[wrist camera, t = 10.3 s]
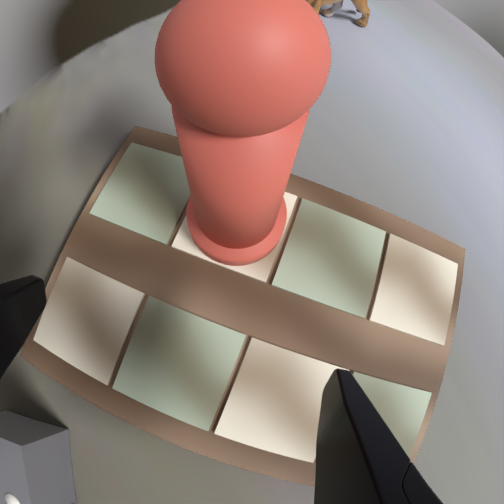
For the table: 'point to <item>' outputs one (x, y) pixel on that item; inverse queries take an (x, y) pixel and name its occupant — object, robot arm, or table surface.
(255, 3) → the pawn
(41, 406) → the table surface
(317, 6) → the lion figurine
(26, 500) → the die
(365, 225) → the board
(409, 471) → the robot arm
